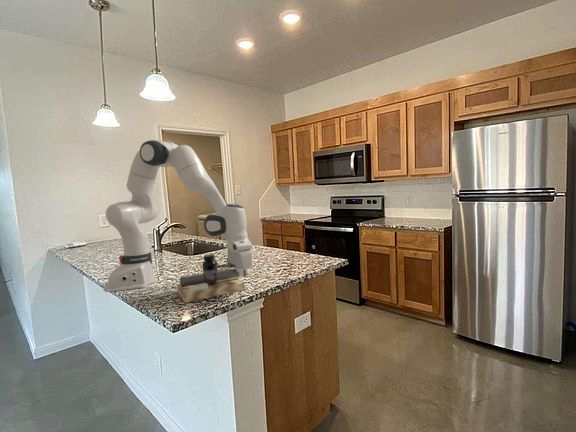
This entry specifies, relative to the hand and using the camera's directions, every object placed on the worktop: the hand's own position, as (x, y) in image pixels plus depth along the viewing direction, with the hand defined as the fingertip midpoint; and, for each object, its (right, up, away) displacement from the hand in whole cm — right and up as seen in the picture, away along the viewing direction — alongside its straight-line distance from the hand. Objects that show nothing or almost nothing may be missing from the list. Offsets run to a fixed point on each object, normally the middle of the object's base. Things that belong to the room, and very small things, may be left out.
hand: (240, 275), depth 136 cm
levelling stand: (-12, -6, 0) cm, 14 cm away
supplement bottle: (-16, -5, +15) cm, 22 cm away
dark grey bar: (-11, -3, +1) cm, 11 cm away
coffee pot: (-7, -3, +40) cm, 40 cm away
